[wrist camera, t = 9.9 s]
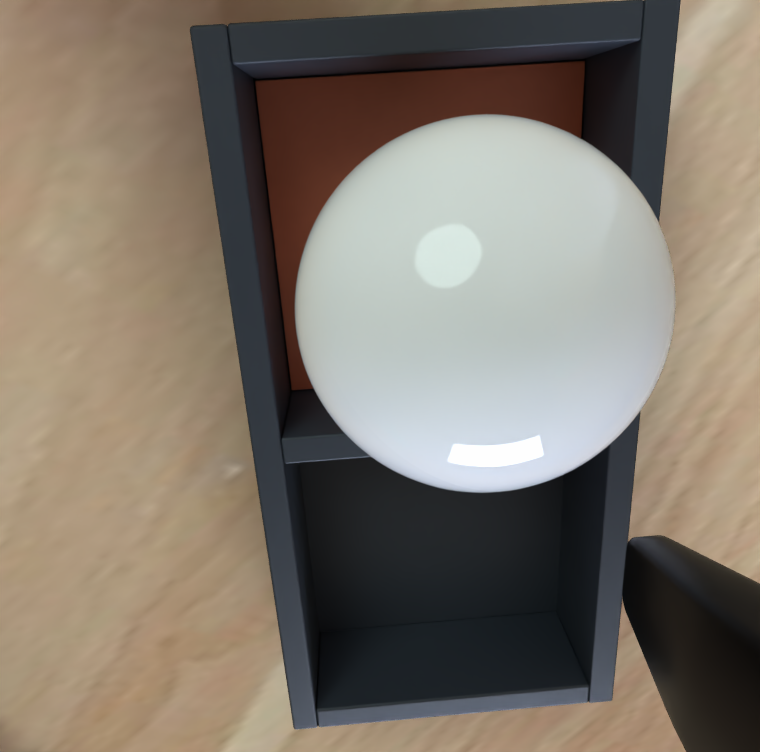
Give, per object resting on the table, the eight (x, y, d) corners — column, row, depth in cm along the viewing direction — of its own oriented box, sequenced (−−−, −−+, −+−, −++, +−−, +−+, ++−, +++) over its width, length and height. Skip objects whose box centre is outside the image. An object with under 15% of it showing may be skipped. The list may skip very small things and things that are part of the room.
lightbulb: (438, 382, 20) (538, 641, 10) (271, 262, 18) (179, 421, 8) (575, 219, 18) (869, 324, 8) (406, 73, 17) (504, -32, 6)
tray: (301, 643, 24) (293, 730, 20) (221, 49, 17) (188, 25, 13) (573, 619, 24) (612, 701, 21) (611, 26, 17) (681, -4, 14)
